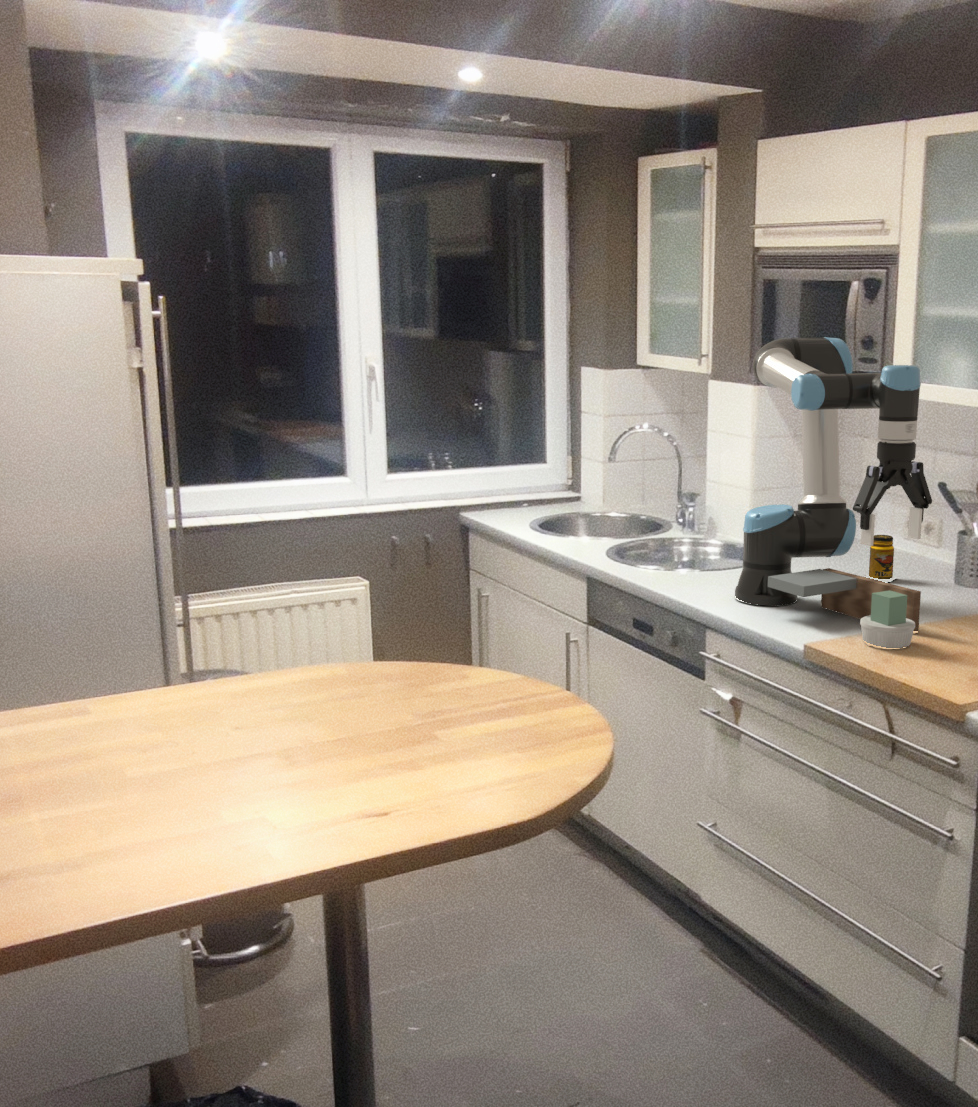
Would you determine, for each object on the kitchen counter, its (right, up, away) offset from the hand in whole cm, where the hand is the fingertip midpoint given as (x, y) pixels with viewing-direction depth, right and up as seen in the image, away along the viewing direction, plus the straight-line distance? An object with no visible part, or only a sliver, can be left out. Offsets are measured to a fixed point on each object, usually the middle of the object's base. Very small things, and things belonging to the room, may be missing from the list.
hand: (890, 541), depth 233 cm
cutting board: (+3, -18, +23) cm, 29 cm away
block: (0, -17, +2) cm, 17 cm away
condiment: (+19, -10, +63) cm, 67 cm away
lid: (-9, -11, +25) cm, 29 cm away
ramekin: (0, -22, +4) cm, 23 cm away
